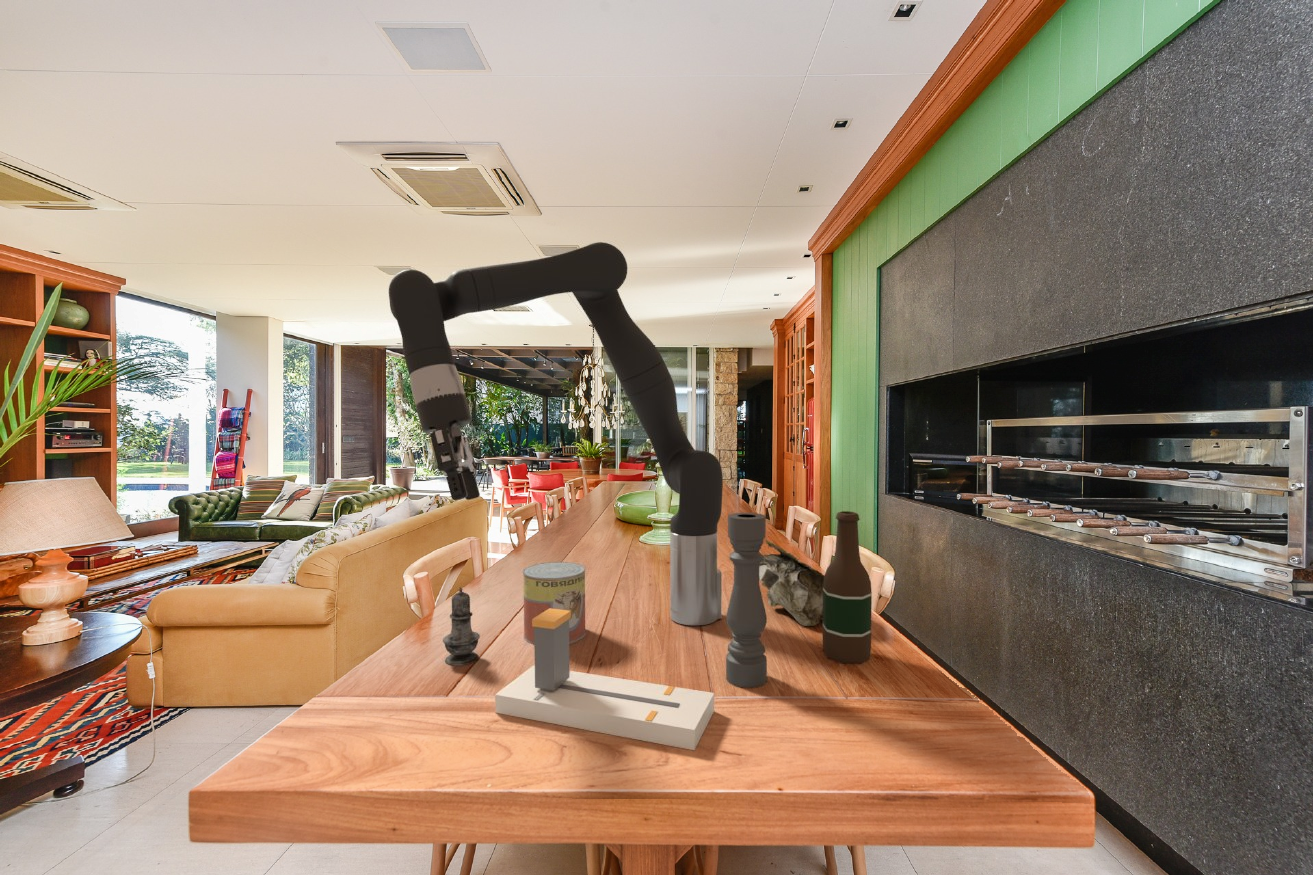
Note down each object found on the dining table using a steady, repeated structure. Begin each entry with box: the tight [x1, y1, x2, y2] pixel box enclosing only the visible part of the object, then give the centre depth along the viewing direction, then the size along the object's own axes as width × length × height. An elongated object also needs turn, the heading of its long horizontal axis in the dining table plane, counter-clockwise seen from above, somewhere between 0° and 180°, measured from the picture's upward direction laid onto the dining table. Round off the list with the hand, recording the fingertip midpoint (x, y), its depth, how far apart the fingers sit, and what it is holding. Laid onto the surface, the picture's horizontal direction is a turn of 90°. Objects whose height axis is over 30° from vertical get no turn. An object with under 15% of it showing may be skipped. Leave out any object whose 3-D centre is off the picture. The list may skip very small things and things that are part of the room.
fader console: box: [494, 664, 715, 751], centre depth 81 cm, size 28×10×3 cm, turn 71°
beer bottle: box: [822, 510, 873, 665], centre depth 100 cm, size 8×8×24 cm
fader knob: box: [532, 608, 571, 691], centre depth 84 cm, size 3×5×10 cm
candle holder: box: [725, 512, 768, 689], centre depth 91 cm, size 6×6×25 cm
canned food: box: [522, 561, 587, 645], centre depth 110 cm, size 11×11×12 cm
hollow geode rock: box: [759, 539, 825, 627], centre depth 125 cm, size 28×13×15 cm
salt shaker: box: [442, 586, 481, 667], centre depth 99 cm, size 6×6×12 cm
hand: (467, 498), depth 92 cm, fingers open, 8 cm apart
